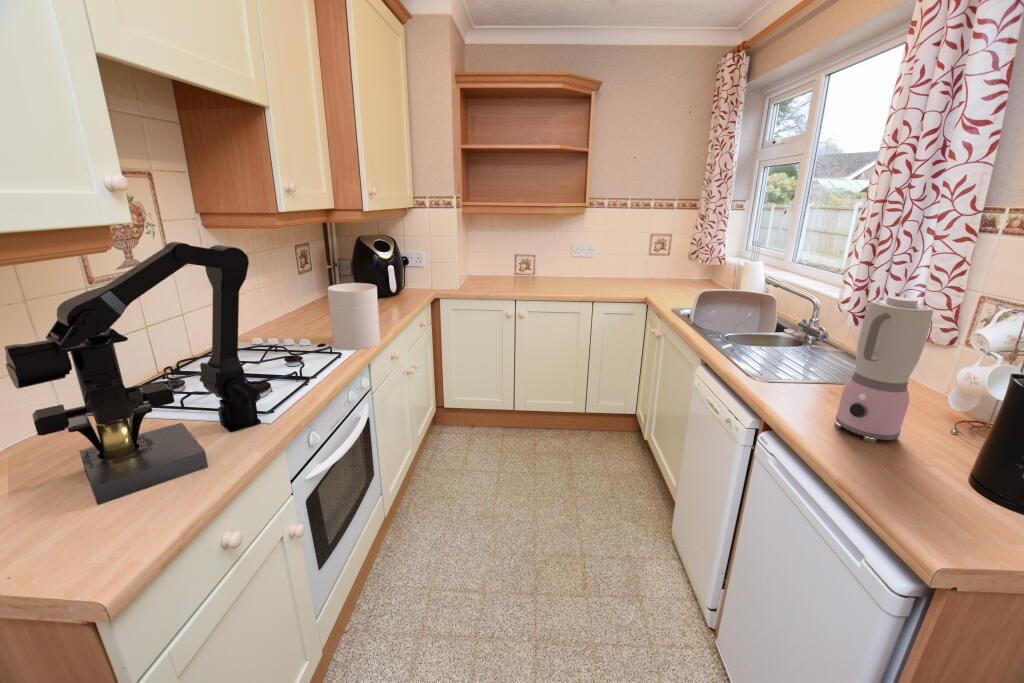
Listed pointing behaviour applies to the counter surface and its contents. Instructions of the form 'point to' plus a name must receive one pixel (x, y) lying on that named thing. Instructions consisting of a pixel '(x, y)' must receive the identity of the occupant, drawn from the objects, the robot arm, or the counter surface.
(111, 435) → the bushing
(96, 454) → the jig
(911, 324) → the blender
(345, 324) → the canister
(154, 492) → the counter surface
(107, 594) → the counter surface
